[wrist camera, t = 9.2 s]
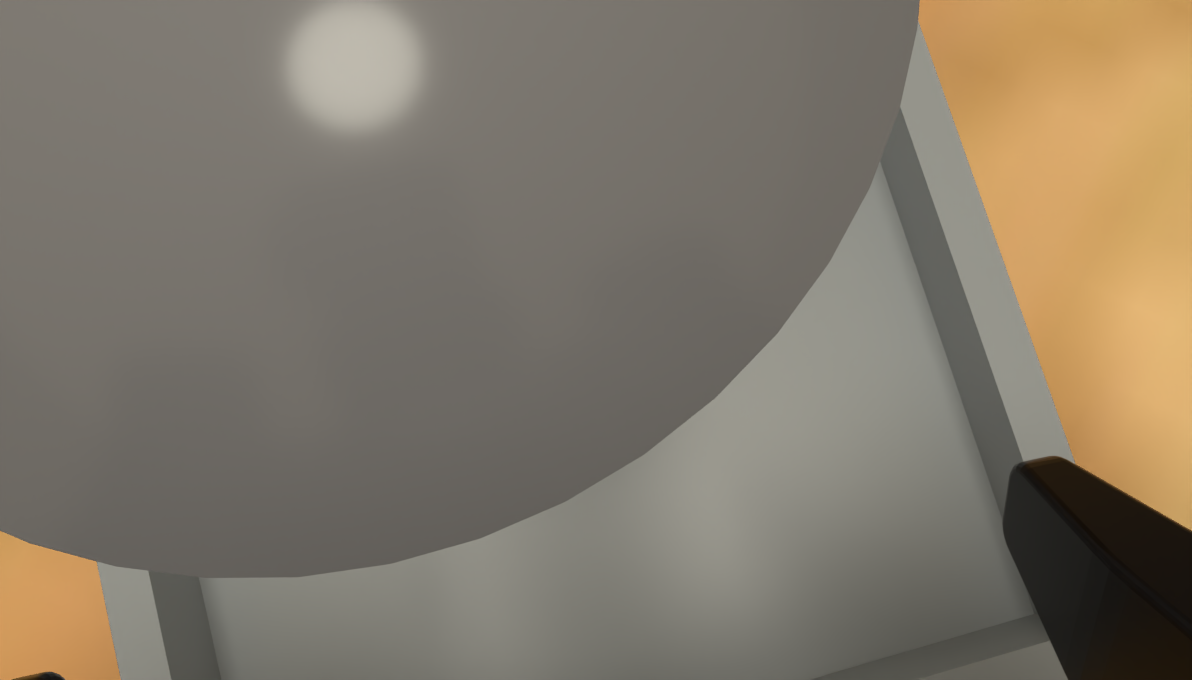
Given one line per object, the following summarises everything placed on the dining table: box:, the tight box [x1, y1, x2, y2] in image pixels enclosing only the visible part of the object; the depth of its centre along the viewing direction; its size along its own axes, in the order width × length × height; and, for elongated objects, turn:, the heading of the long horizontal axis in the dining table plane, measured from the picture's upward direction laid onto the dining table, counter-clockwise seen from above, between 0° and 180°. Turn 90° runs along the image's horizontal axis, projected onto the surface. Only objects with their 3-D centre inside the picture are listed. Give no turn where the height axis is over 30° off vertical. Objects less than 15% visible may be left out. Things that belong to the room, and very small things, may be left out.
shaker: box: [0, 0, 920, 578], centre depth 11 cm, size 5×5×14 cm
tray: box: [97, 22, 1075, 680], centre depth 17 cm, size 16×16×2 cm
